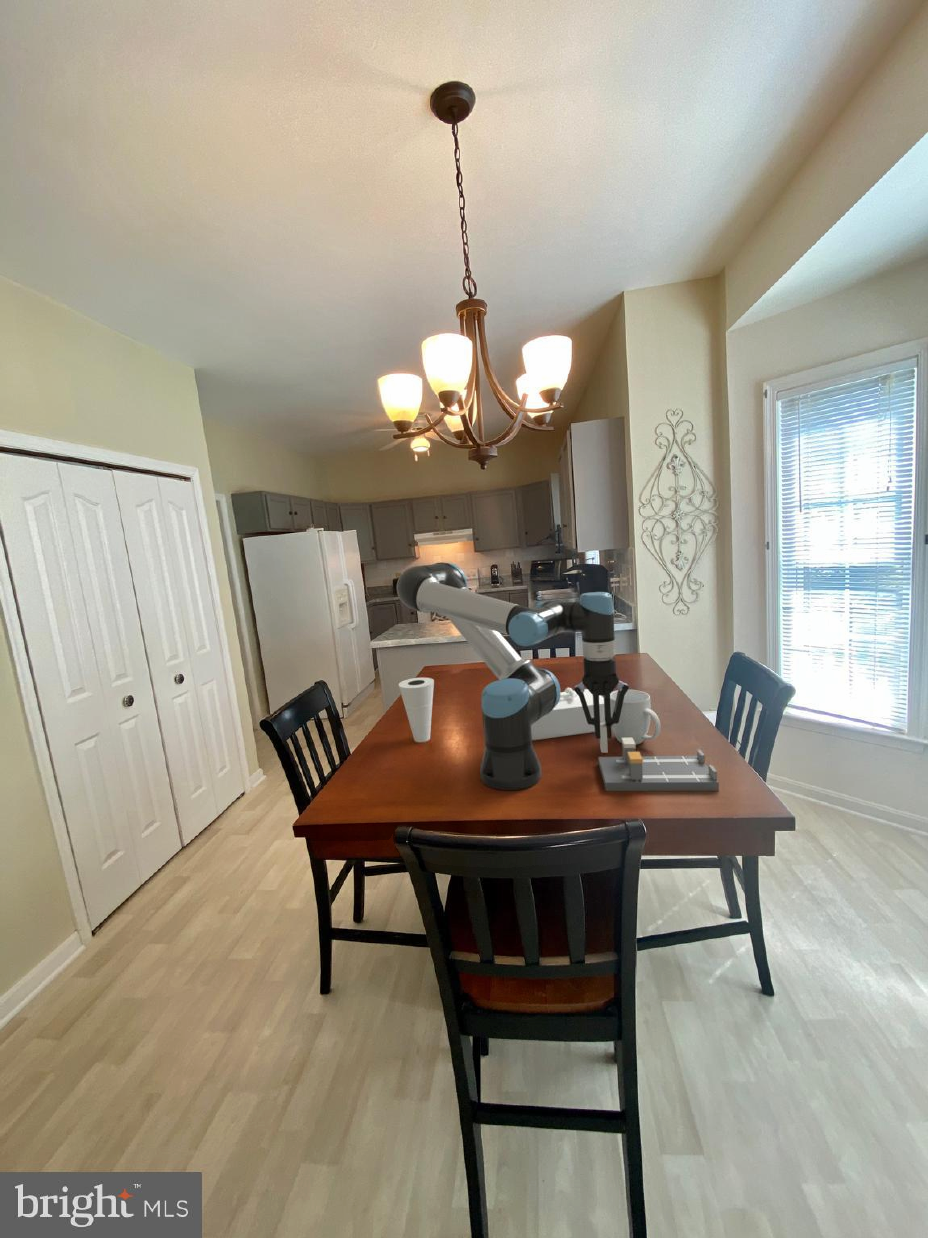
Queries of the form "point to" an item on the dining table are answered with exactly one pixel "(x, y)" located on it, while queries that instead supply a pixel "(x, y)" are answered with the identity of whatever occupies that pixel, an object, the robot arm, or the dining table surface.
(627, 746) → the fader cream
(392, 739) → the dining table surface
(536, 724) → the tissue box
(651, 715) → the mug
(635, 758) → the fader orange
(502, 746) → the robot arm
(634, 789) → the console
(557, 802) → the dining table surface
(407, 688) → the white paper towel roll
